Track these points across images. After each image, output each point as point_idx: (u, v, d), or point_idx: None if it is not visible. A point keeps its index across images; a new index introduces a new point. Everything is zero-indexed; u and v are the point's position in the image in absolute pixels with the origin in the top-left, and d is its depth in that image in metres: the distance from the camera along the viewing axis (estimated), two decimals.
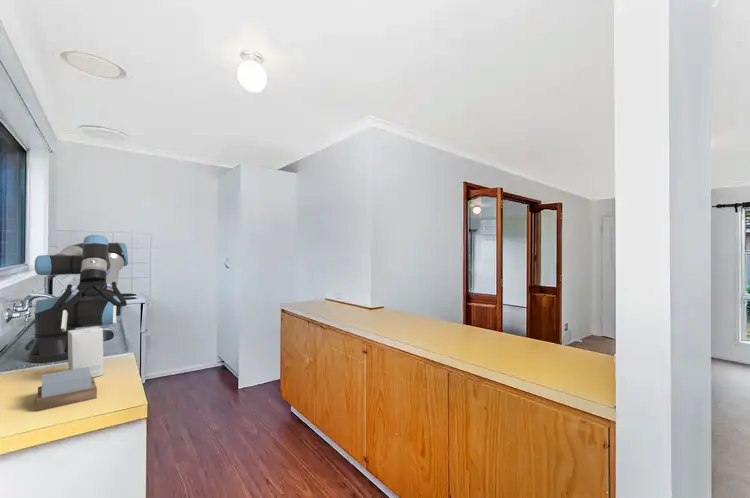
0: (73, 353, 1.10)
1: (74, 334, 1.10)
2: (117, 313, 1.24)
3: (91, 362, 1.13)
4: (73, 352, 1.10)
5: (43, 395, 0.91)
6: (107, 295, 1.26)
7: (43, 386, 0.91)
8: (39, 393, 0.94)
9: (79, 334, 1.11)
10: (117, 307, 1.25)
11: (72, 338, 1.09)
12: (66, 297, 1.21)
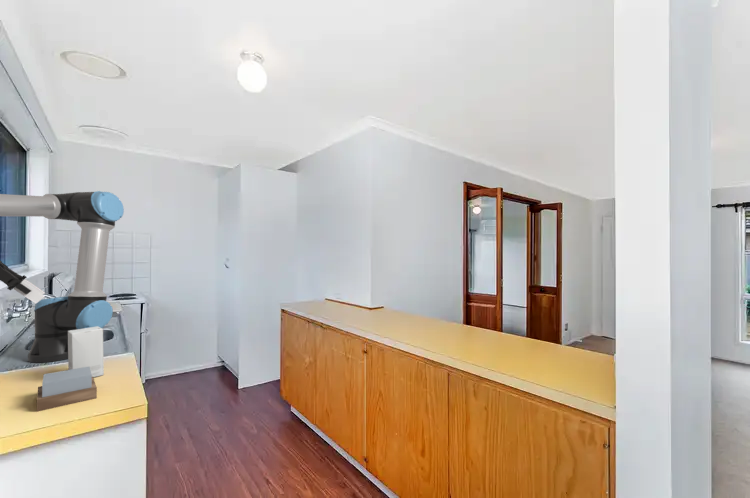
0: (73, 353, 1.10)
1: (74, 334, 1.10)
2: (25, 293, 0.99)
3: (91, 362, 1.13)
4: (73, 352, 1.10)
5: (44, 394, 0.91)
6: None
7: (44, 385, 0.91)
8: (39, 393, 0.94)
9: (79, 334, 1.11)
10: (17, 288, 0.98)
11: (72, 338, 1.09)
12: None
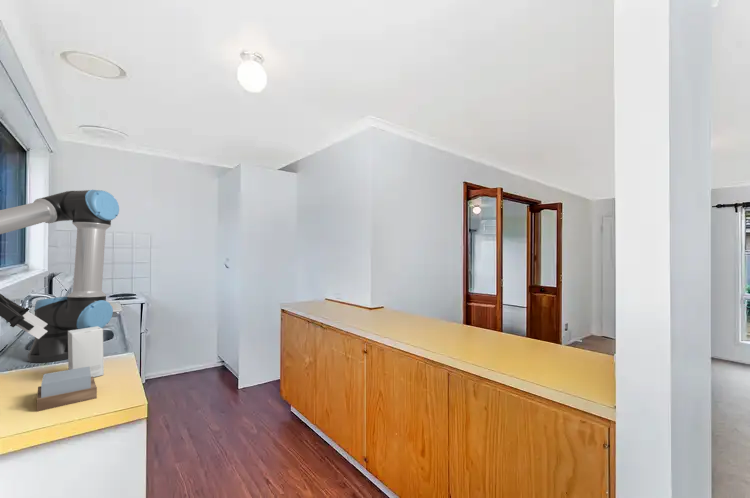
0: (73, 353, 1.10)
1: (74, 334, 1.10)
2: (28, 329, 1.00)
3: (91, 362, 1.13)
4: (73, 352, 1.10)
5: (43, 395, 0.91)
6: None
7: (43, 386, 0.91)
8: (39, 393, 0.94)
9: (79, 334, 1.11)
10: (20, 324, 0.99)
11: (72, 338, 1.09)
12: None
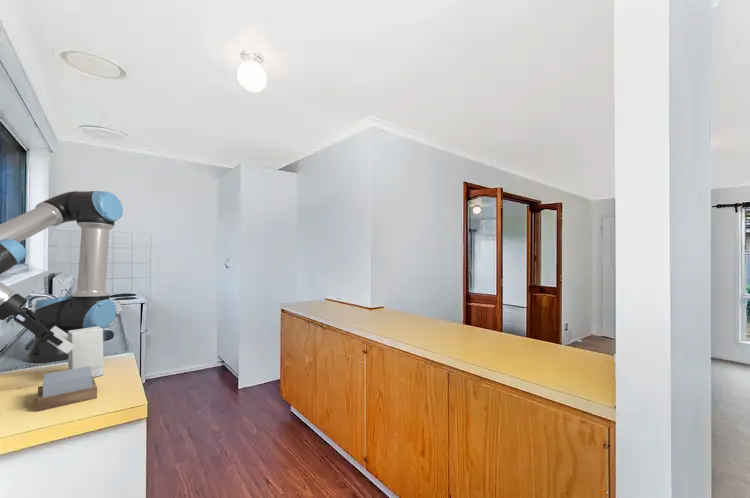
0: (73, 353, 1.10)
1: (74, 334, 1.10)
2: (57, 344, 1.03)
3: (91, 362, 1.13)
4: (73, 352, 1.10)
5: (44, 394, 0.91)
6: None
7: (44, 385, 0.91)
8: (39, 393, 0.94)
9: (79, 334, 1.11)
10: (49, 340, 1.02)
11: (72, 338, 1.09)
12: None
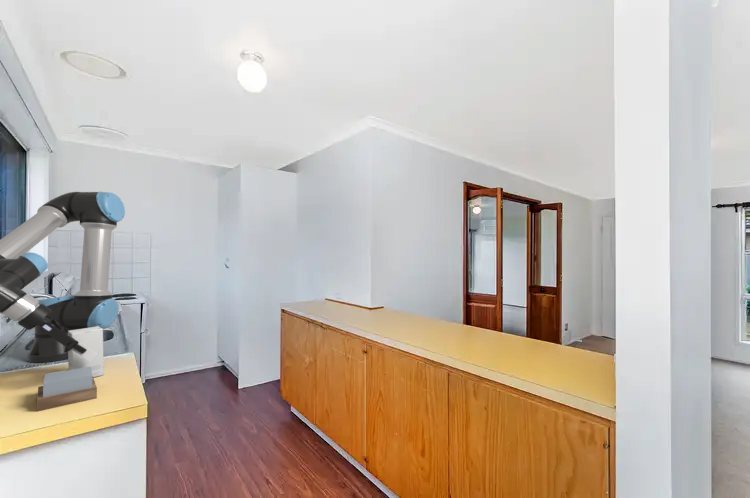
0: (73, 353, 1.10)
1: (74, 334, 1.10)
2: (81, 352, 1.08)
3: (91, 362, 1.13)
4: (73, 352, 1.10)
5: (44, 394, 0.92)
6: None
7: (44, 385, 0.92)
8: (39, 393, 0.94)
9: (79, 334, 1.11)
10: (74, 348, 1.07)
11: None
12: None
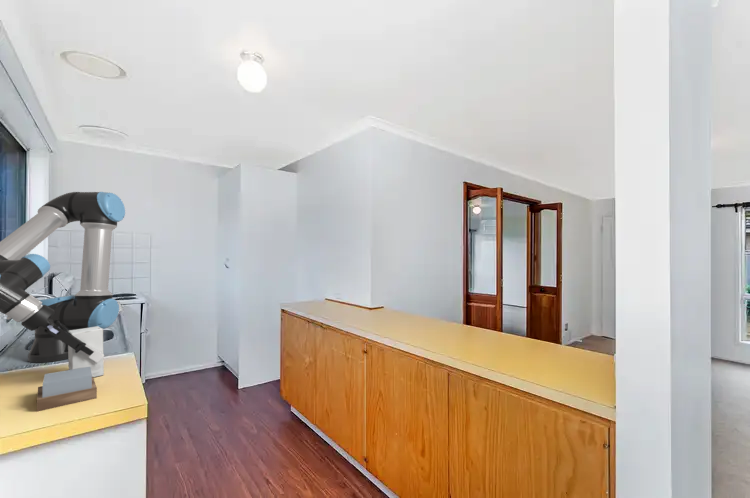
0: (73, 353, 1.10)
1: (74, 334, 1.10)
2: (89, 354, 1.11)
3: (91, 362, 1.13)
4: (73, 352, 1.10)
5: (44, 395, 0.92)
6: None
7: (44, 386, 0.91)
8: (39, 393, 0.94)
9: (79, 334, 1.11)
10: (82, 350, 1.10)
11: None
12: None
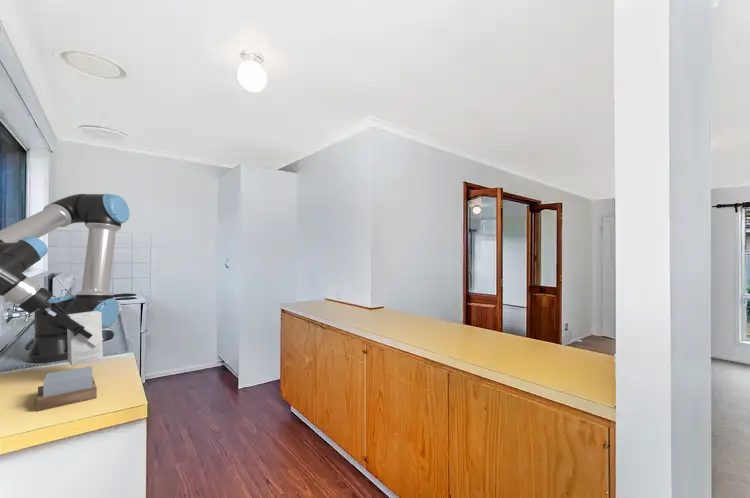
0: (71, 336, 1.09)
1: (72, 317, 1.09)
2: (87, 337, 1.11)
3: (89, 346, 1.12)
4: (71, 335, 1.09)
5: (45, 394, 0.92)
6: None
7: (45, 385, 0.92)
8: (39, 393, 0.94)
9: (77, 317, 1.10)
10: None
11: None
12: None
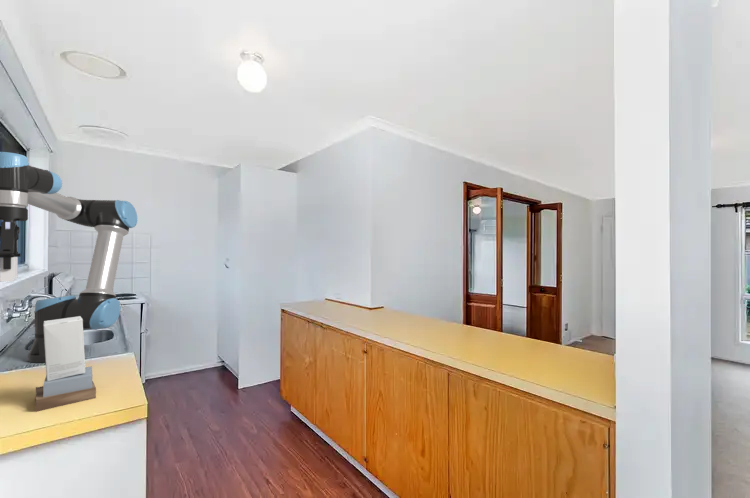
0: (46, 347, 0.93)
1: (47, 325, 0.93)
2: None
3: (69, 359, 0.96)
4: (46, 346, 0.93)
5: (45, 394, 0.92)
6: None
7: (45, 385, 0.92)
8: (38, 393, 0.94)
9: (53, 325, 0.94)
10: None
11: (44, 330, 0.93)
12: None
